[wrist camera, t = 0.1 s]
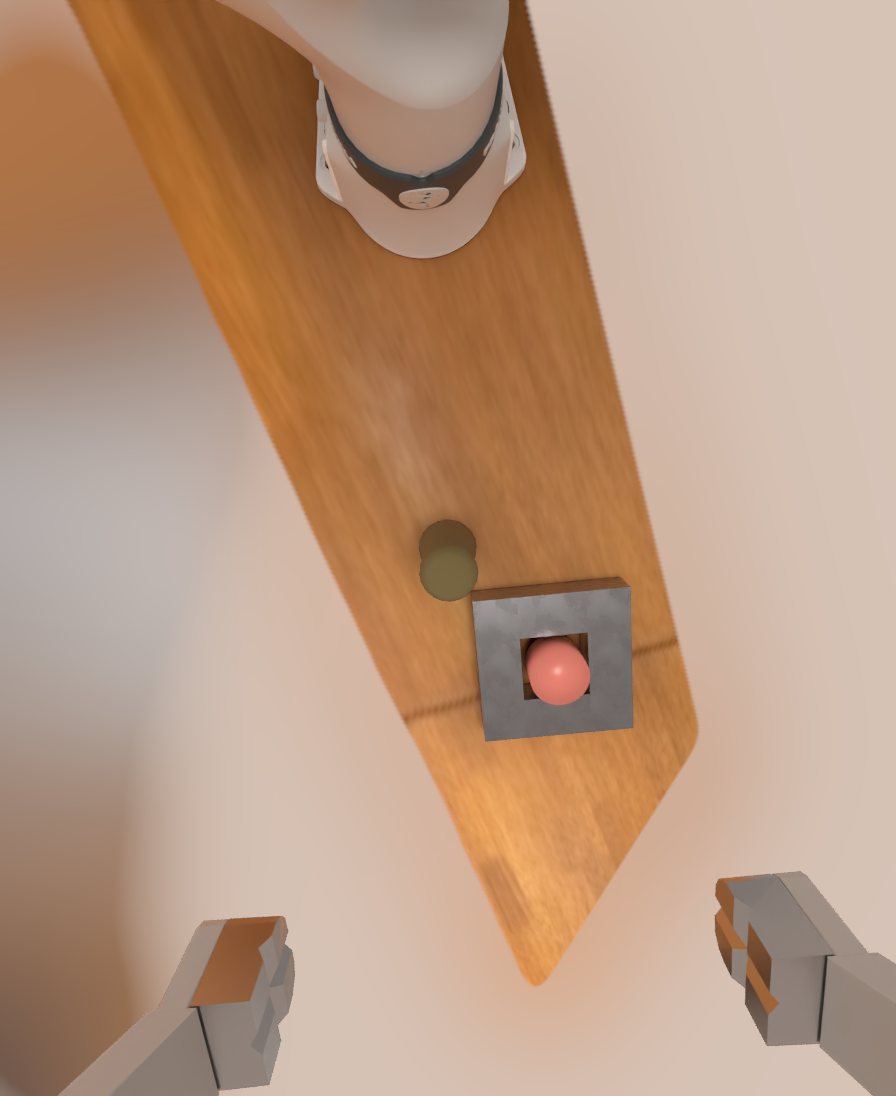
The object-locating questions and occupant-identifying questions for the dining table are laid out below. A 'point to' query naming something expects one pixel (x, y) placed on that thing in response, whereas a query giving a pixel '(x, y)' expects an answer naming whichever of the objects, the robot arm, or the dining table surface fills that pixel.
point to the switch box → (552, 612)
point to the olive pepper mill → (448, 560)
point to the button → (557, 670)
